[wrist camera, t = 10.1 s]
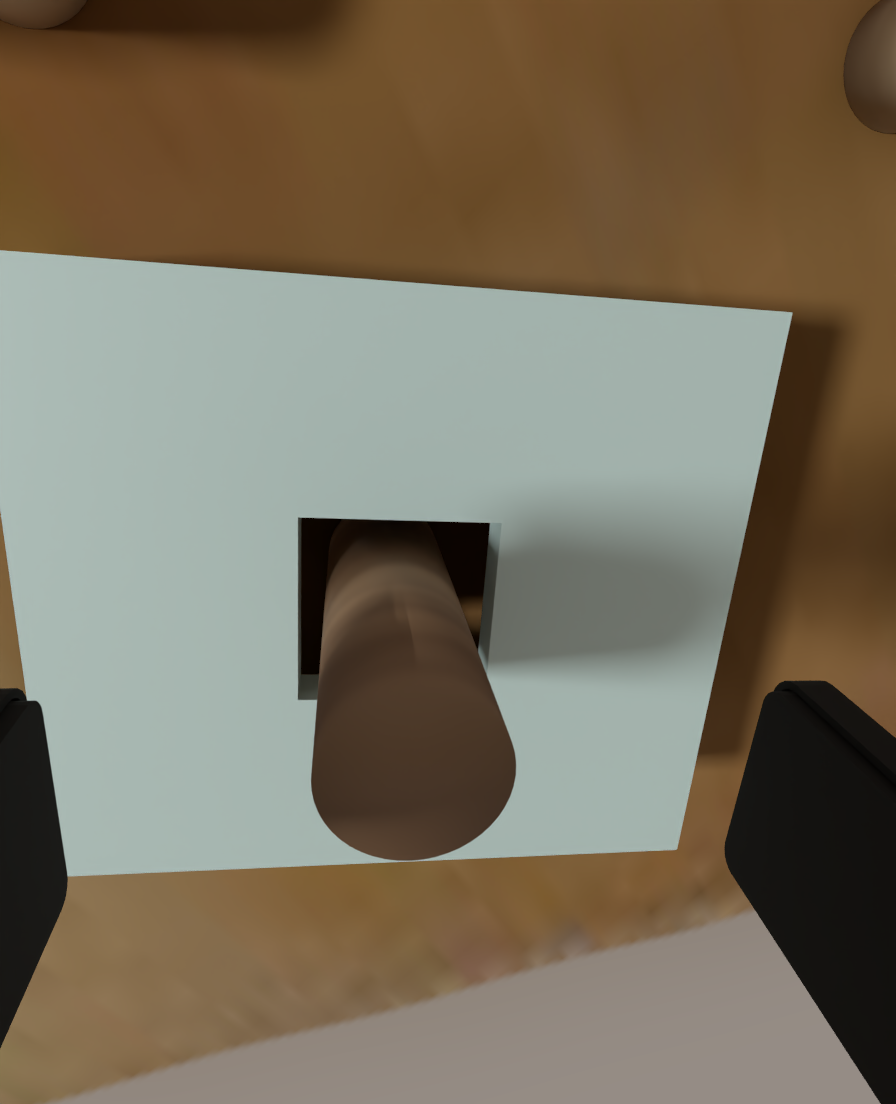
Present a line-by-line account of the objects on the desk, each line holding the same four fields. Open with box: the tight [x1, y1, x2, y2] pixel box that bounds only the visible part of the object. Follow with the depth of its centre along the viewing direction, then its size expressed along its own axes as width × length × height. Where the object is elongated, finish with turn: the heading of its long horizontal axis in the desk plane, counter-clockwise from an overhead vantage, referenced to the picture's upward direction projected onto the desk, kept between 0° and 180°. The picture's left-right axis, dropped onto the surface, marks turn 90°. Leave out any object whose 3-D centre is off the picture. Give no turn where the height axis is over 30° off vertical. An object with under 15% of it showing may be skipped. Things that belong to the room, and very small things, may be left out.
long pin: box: [311, 519, 516, 861], centre depth 15 cm, size 3×3×10 cm
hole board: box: [0, 250, 793, 876], centre depth 18 cm, size 14×16×4 cm
